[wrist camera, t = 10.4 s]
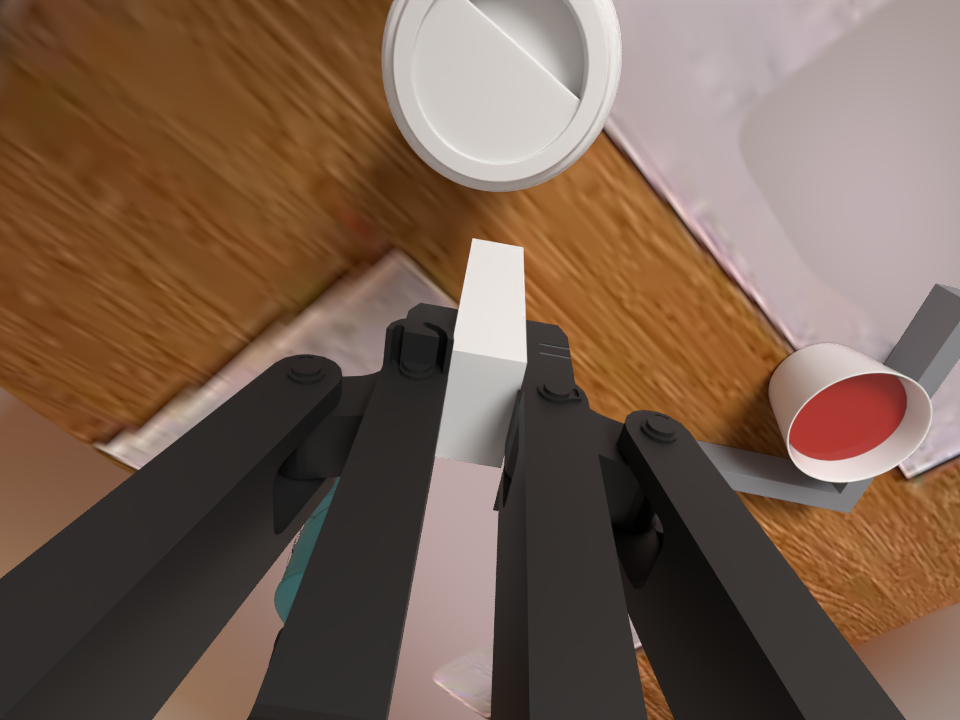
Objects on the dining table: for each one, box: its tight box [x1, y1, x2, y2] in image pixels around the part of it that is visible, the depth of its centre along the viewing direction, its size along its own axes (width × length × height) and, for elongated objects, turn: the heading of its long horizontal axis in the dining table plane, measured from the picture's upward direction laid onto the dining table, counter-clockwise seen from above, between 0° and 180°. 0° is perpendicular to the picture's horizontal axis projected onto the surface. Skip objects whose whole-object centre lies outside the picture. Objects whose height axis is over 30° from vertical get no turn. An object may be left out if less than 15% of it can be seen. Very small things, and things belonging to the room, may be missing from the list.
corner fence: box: [696, 284, 960, 513], centre depth 42 cm, size 18×14×4 cm
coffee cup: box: [381, 0, 622, 192], centre depth 28 cm, size 10×10×15 cm
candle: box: [768, 343, 932, 482], centre depth 41 cm, size 9×9×6 cm
